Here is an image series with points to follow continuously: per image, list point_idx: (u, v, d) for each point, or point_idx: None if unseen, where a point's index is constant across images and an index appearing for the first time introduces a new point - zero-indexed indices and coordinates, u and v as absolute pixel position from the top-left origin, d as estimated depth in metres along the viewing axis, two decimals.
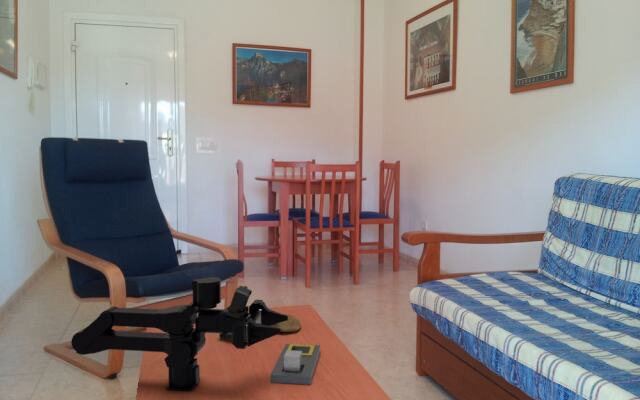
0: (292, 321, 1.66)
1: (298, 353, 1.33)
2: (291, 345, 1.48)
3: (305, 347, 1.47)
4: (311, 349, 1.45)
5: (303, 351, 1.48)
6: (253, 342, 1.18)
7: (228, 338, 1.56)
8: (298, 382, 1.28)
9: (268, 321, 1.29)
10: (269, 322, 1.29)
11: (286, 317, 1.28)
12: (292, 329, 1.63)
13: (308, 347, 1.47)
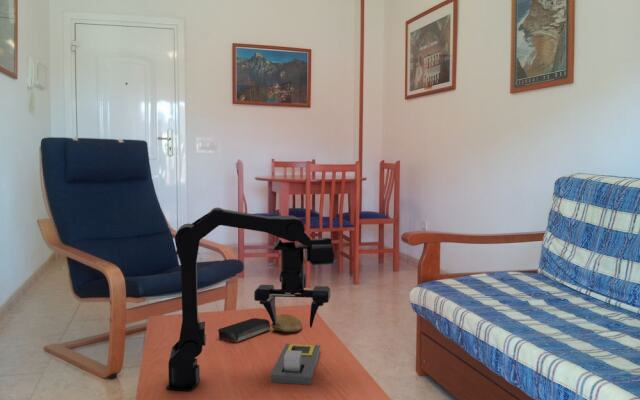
0: (294, 321, 1.65)
1: (298, 353, 1.33)
2: (291, 345, 1.48)
3: (305, 347, 1.47)
4: (311, 349, 1.45)
5: (303, 351, 1.48)
6: None
7: (227, 338, 1.57)
8: (298, 382, 1.28)
9: (272, 308, 1.31)
10: (272, 309, 1.31)
11: (276, 324, 1.33)
12: (294, 329, 1.63)
13: (308, 347, 1.47)
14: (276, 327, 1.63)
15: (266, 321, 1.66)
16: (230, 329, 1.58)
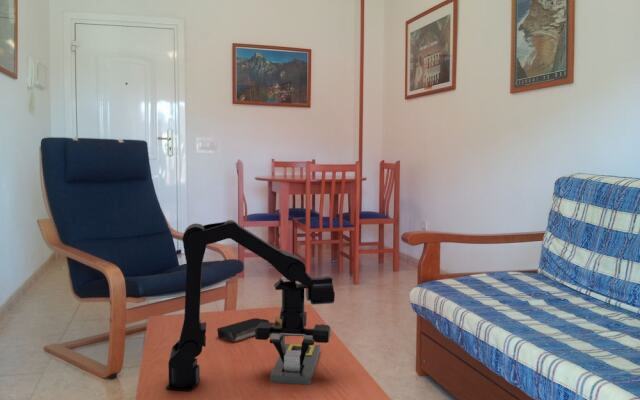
0: None
1: (298, 353, 1.33)
2: (291, 345, 1.48)
3: None
4: (311, 349, 1.45)
5: None
6: None
7: (225, 337, 1.57)
8: (298, 382, 1.28)
9: (282, 347, 1.31)
10: (282, 348, 1.31)
11: None
12: None
13: (308, 347, 1.47)
14: None
15: (266, 321, 1.65)
16: (229, 329, 1.59)
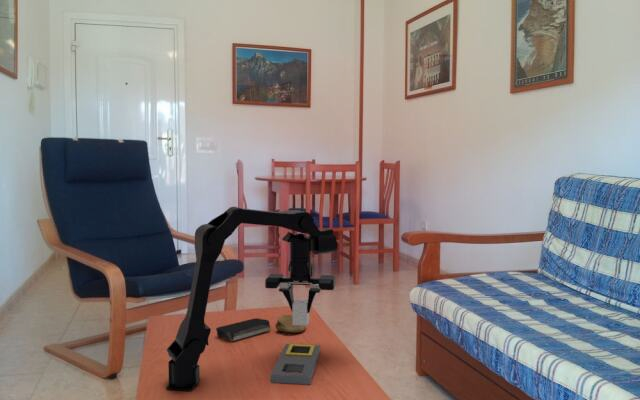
0: None
1: (306, 301, 1.43)
2: (291, 345, 1.48)
3: (305, 347, 1.47)
4: (311, 349, 1.45)
5: (303, 351, 1.48)
6: None
7: (223, 336, 1.58)
8: (298, 382, 1.28)
9: (291, 295, 1.41)
10: (290, 296, 1.41)
11: None
12: (298, 329, 1.63)
13: (308, 347, 1.47)
14: (280, 328, 1.63)
15: (266, 322, 1.65)
16: (227, 328, 1.59)
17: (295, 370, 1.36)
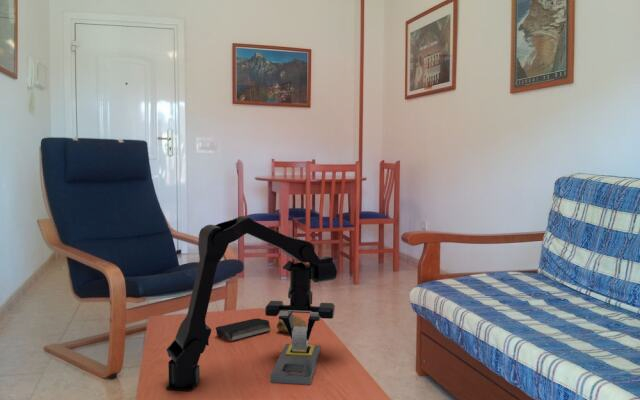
0: (299, 321, 1.65)
1: (305, 329, 1.44)
2: (291, 345, 1.48)
3: None
4: (311, 349, 1.45)
5: None
6: None
7: (222, 336, 1.58)
8: (298, 382, 1.28)
9: (290, 323, 1.43)
10: (290, 324, 1.43)
11: None
12: None
13: (308, 347, 1.47)
14: (282, 328, 1.63)
15: (266, 322, 1.65)
16: (227, 328, 1.60)
17: (295, 370, 1.36)
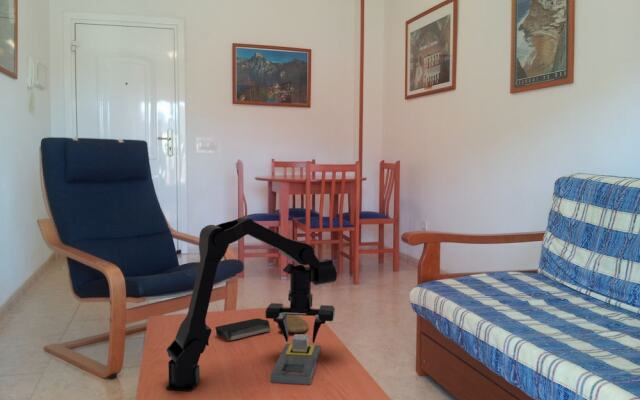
0: (300, 321, 1.65)
1: (305, 336, 1.45)
2: (291, 345, 1.48)
3: None
4: (311, 349, 1.45)
5: None
6: None
7: (222, 336, 1.58)
8: (298, 382, 1.28)
9: (285, 325, 1.43)
10: (284, 326, 1.43)
11: None
12: (301, 330, 1.63)
13: None
14: None
15: (266, 322, 1.65)
16: (226, 327, 1.60)
17: (295, 370, 1.36)
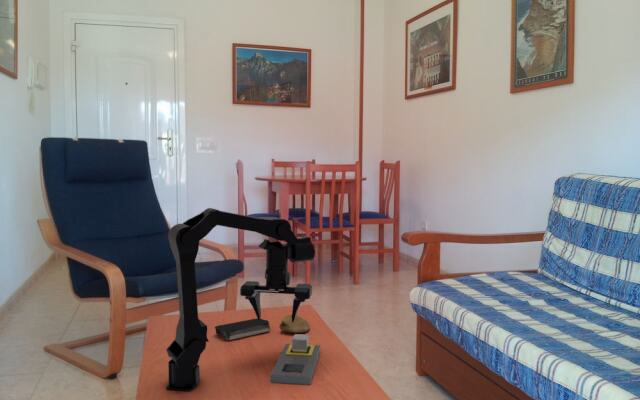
0: (302, 321, 1.65)
1: (305, 336, 1.45)
2: (291, 345, 1.48)
3: None
4: (311, 349, 1.45)
5: None
6: None
7: (221, 335, 1.59)
8: (298, 382, 1.28)
9: (257, 303, 1.39)
10: (256, 304, 1.39)
11: (260, 318, 1.41)
12: (303, 330, 1.63)
13: None
14: (285, 328, 1.62)
15: (265, 322, 1.65)
16: (225, 327, 1.60)
17: (295, 370, 1.36)
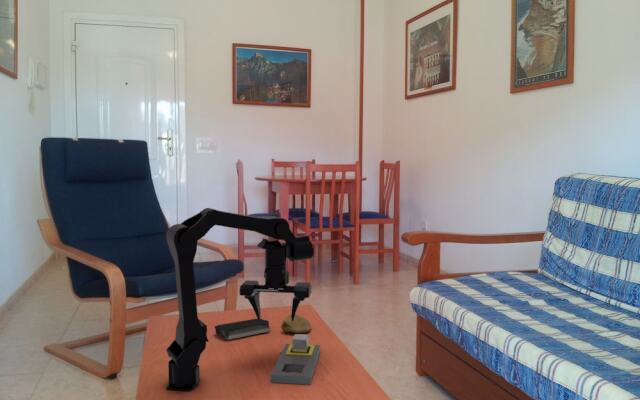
0: (304, 321, 1.65)
1: (305, 336, 1.45)
2: (291, 345, 1.48)
3: None
4: (311, 349, 1.45)
5: None
6: None
7: (220, 335, 1.59)
8: (298, 382, 1.28)
9: (257, 303, 1.39)
10: (256, 303, 1.39)
11: None
12: (304, 330, 1.63)
13: None
14: (287, 328, 1.62)
15: (265, 322, 1.64)
16: (225, 327, 1.61)
17: (295, 370, 1.36)
